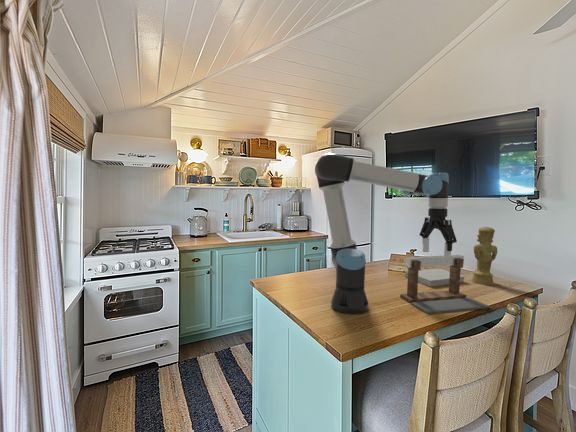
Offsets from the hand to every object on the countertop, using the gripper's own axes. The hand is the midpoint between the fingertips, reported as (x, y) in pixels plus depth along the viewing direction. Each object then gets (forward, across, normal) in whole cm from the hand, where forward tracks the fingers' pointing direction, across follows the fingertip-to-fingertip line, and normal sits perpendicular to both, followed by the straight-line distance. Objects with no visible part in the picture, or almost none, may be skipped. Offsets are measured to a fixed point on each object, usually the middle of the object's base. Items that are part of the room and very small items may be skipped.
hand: (436, 255), depth 131 cm
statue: (+20, +15, -42) cm, 50 cm away
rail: (+5, 0, 0) cm, 5 cm away
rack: (+20, 0, 0) cm, 20 cm away
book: (+21, +24, -20) cm, 37 cm away
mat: (+20, -10, 0) cm, 22 cm away
